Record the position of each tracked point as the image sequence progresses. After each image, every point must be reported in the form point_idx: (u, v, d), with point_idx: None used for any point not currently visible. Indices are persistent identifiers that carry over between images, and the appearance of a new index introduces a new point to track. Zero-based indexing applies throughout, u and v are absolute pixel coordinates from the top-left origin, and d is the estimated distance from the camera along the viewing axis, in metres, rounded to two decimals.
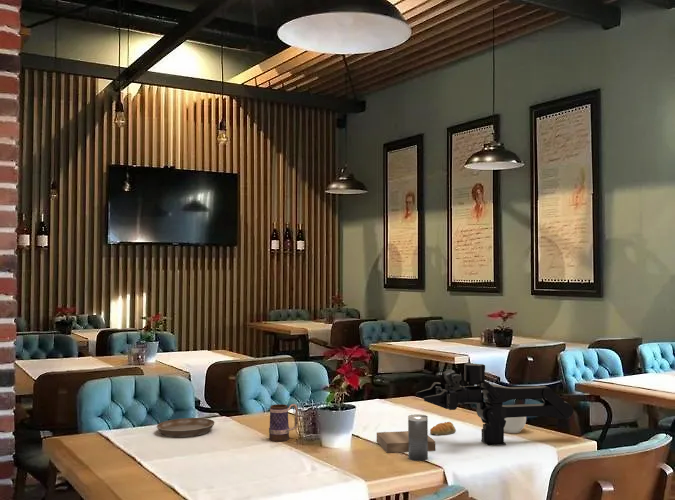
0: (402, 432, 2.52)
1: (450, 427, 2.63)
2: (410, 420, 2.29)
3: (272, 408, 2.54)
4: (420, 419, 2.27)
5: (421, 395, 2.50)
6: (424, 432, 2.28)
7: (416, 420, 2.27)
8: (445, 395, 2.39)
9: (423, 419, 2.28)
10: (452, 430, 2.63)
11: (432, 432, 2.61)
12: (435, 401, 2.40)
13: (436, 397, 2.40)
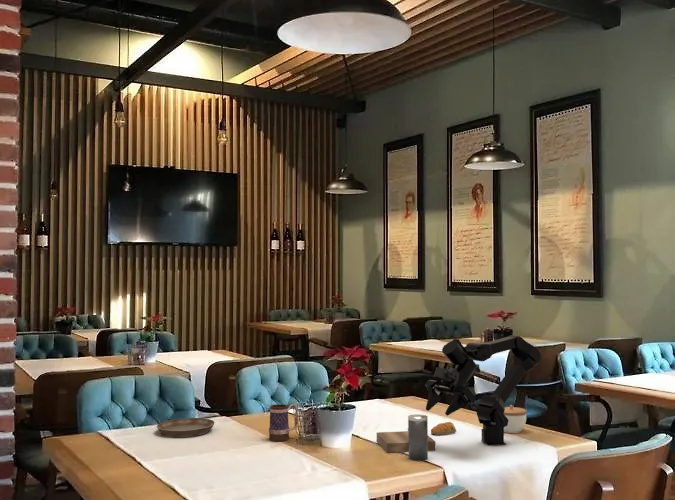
0: (402, 432, 2.52)
1: (451, 427, 2.63)
2: (410, 420, 2.29)
3: (272, 408, 2.54)
4: (420, 419, 2.27)
5: (430, 406, 2.39)
6: (424, 432, 2.28)
7: (416, 420, 2.27)
8: (460, 397, 2.31)
9: (423, 419, 2.28)
10: (453, 430, 2.63)
11: (433, 432, 2.61)
12: (455, 407, 2.32)
13: (454, 404, 2.31)
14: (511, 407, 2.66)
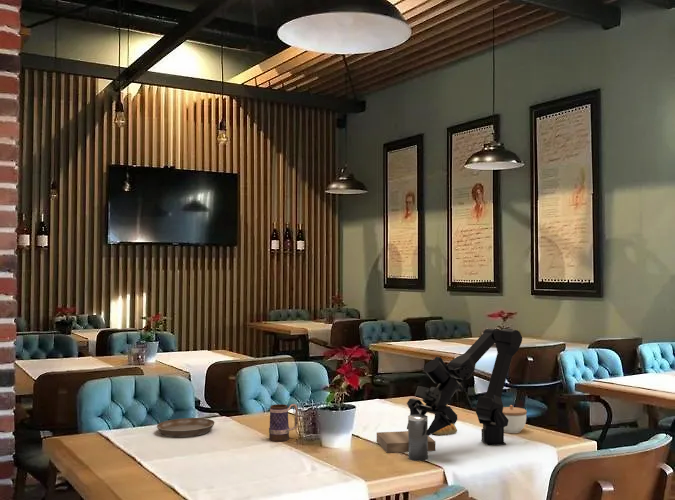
0: (402, 432, 2.52)
1: (452, 427, 2.63)
2: (410, 420, 2.29)
3: (272, 408, 2.54)
4: (420, 419, 2.27)
5: None
6: (424, 432, 2.28)
7: (416, 420, 2.27)
8: (442, 417, 2.26)
9: (423, 419, 2.28)
10: (454, 430, 2.63)
11: (434, 433, 2.61)
12: (437, 427, 2.27)
13: (435, 424, 2.27)
14: (511, 407, 2.66)
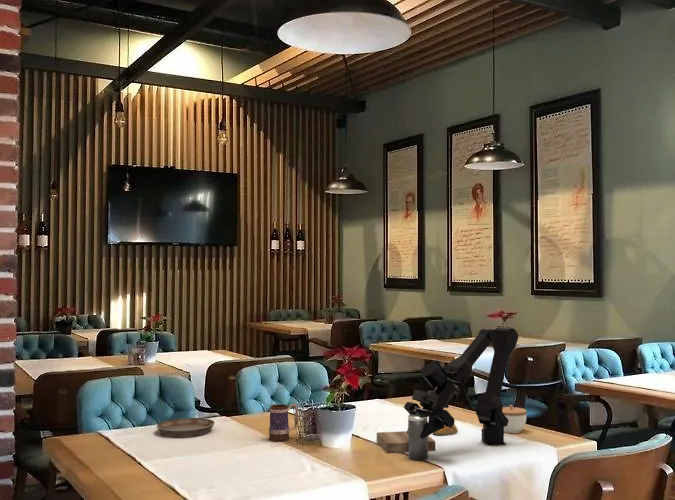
0: (402, 432, 2.52)
1: (452, 427, 2.63)
2: (410, 420, 2.29)
3: (272, 408, 2.54)
4: (420, 419, 2.27)
5: None
6: None
7: (416, 420, 2.27)
8: (435, 420, 2.27)
9: (423, 419, 2.28)
10: (454, 430, 2.63)
11: (435, 433, 2.60)
12: (431, 430, 2.28)
13: (429, 427, 2.27)
14: (511, 407, 2.66)
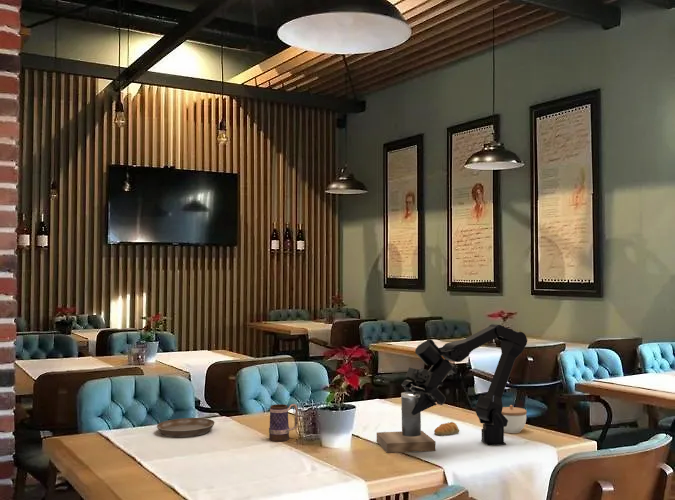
0: None
1: (454, 427, 2.63)
2: (402, 397, 2.34)
3: (272, 408, 2.54)
4: (411, 396, 2.32)
5: None
6: None
7: (408, 397, 2.33)
8: (426, 397, 2.31)
9: (415, 396, 2.33)
10: (456, 430, 2.63)
11: (437, 433, 2.60)
12: (422, 407, 2.32)
13: (420, 404, 2.32)
14: (511, 407, 2.66)
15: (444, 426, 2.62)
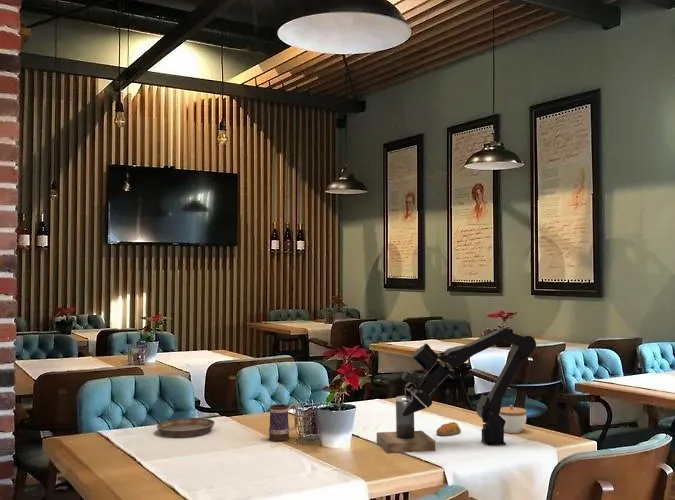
0: None
1: (456, 427, 2.62)
2: (396, 400, 2.46)
3: (272, 408, 2.54)
4: (402, 400, 2.43)
5: None
6: None
7: (399, 400, 2.44)
8: (416, 399, 2.39)
9: (405, 400, 2.43)
10: (458, 430, 2.63)
11: (439, 433, 2.60)
12: (413, 409, 2.40)
13: (411, 406, 2.40)
14: (511, 407, 2.66)
15: (446, 426, 2.62)
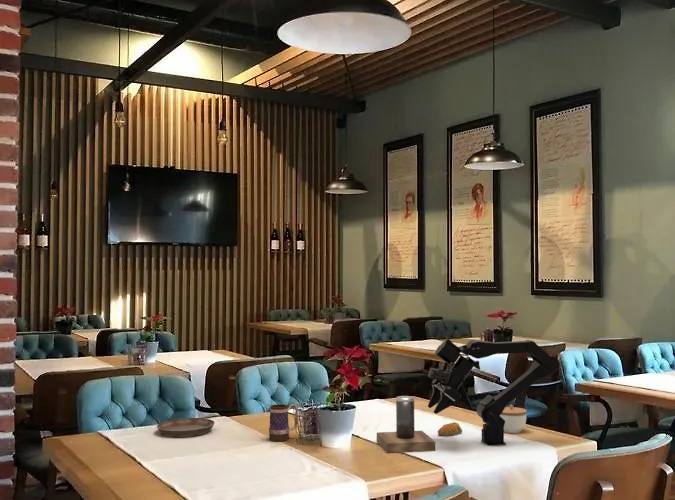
0: None
1: (457, 428, 2.62)
2: (396, 400, 2.46)
3: (272, 408, 2.54)
4: (402, 400, 2.43)
5: (433, 404, 2.52)
6: (406, 412, 2.43)
7: (399, 400, 2.44)
8: (445, 396, 2.40)
9: (406, 400, 2.43)
10: (459, 430, 2.62)
11: (441, 433, 2.59)
12: (443, 406, 2.42)
13: (441, 403, 2.42)
14: (511, 407, 2.66)
15: (448, 426, 2.61)
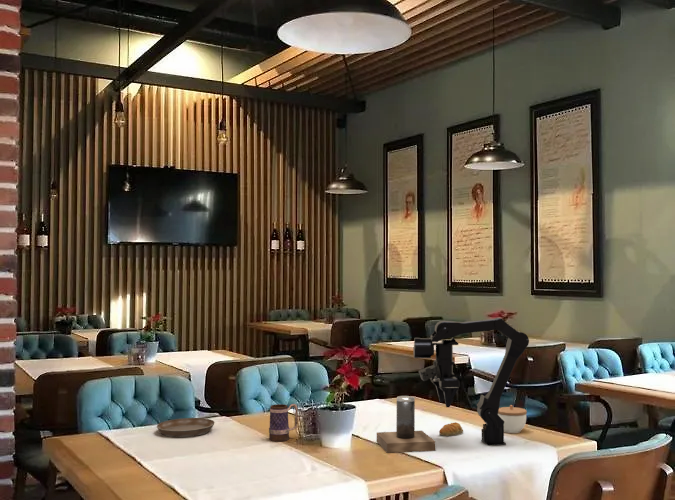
0: None
1: (458, 428, 2.62)
2: None
3: (272, 408, 2.54)
4: (403, 400, 2.43)
5: (442, 396, 2.54)
6: (406, 412, 2.43)
7: (400, 400, 2.44)
8: (445, 389, 2.42)
9: (406, 400, 2.43)
10: (460, 430, 2.62)
11: (443, 434, 2.59)
12: (450, 396, 2.44)
13: (446, 396, 2.44)
14: (511, 407, 2.66)
15: (449, 426, 2.61)
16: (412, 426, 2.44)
